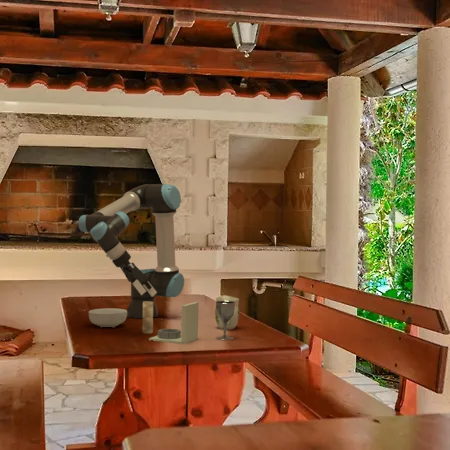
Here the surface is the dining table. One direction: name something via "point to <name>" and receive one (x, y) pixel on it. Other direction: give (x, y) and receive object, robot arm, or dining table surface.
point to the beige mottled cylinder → (147, 317)
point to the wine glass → (225, 315)
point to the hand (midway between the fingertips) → (149, 293)
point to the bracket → (188, 327)
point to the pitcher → (235, 318)
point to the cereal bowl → (107, 317)
